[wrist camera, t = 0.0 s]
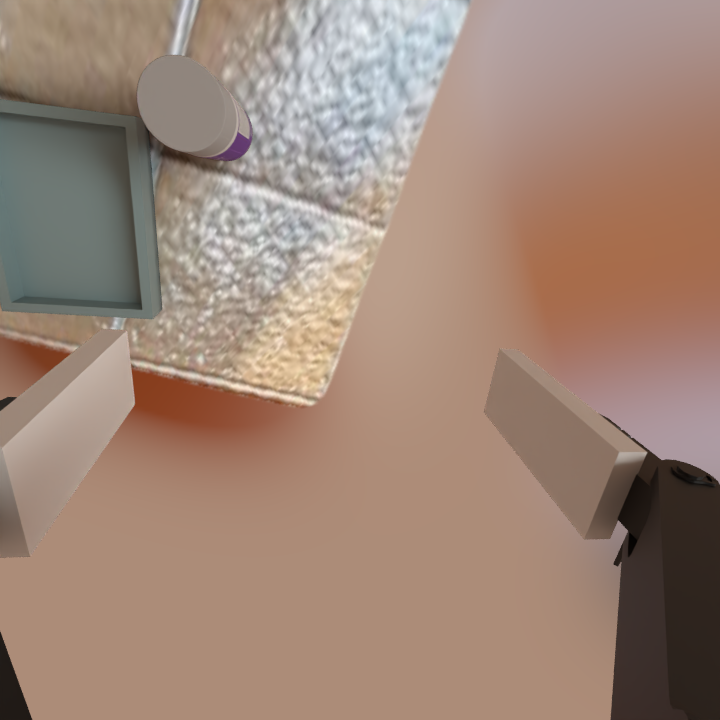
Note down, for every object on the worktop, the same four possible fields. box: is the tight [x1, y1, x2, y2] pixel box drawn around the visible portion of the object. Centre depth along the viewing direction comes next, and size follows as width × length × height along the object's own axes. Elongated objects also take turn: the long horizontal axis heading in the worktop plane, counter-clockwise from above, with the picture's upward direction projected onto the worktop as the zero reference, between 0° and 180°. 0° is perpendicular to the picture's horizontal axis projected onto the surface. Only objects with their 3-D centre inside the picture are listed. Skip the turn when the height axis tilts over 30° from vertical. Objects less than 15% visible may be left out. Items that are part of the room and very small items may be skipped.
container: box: [137, 55, 253, 161], centre depth 29 cm, size 5×5×15 cm
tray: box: [0, 99, 162, 319], centre depth 36 cm, size 16×12×3 cm
